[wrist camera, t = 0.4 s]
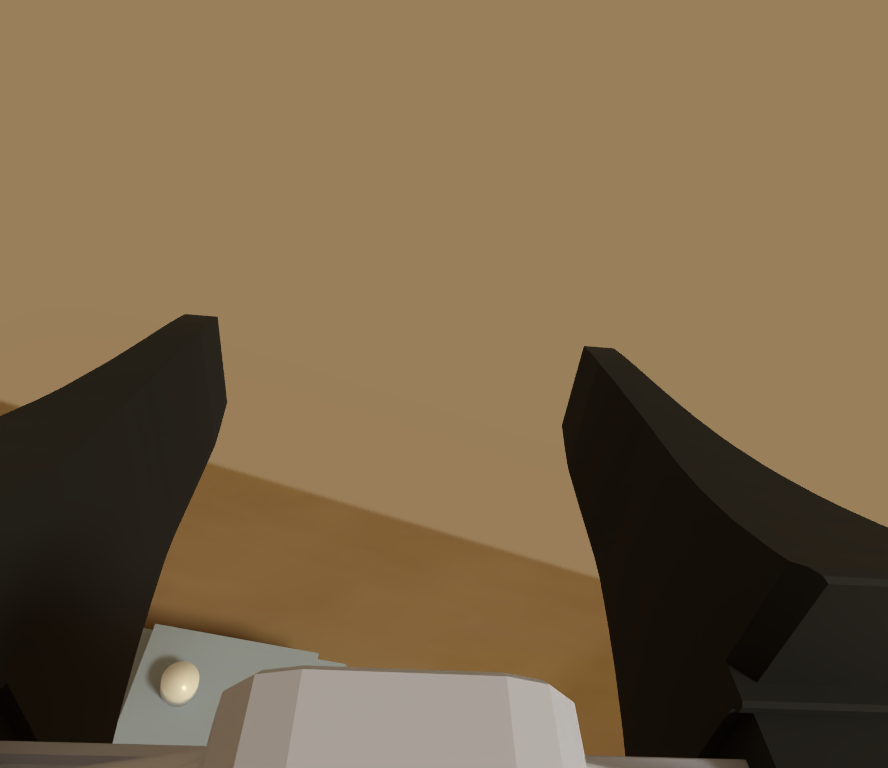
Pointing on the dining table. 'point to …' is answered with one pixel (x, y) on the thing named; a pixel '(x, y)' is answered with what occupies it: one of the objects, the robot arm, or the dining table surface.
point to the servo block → (191, 682)
